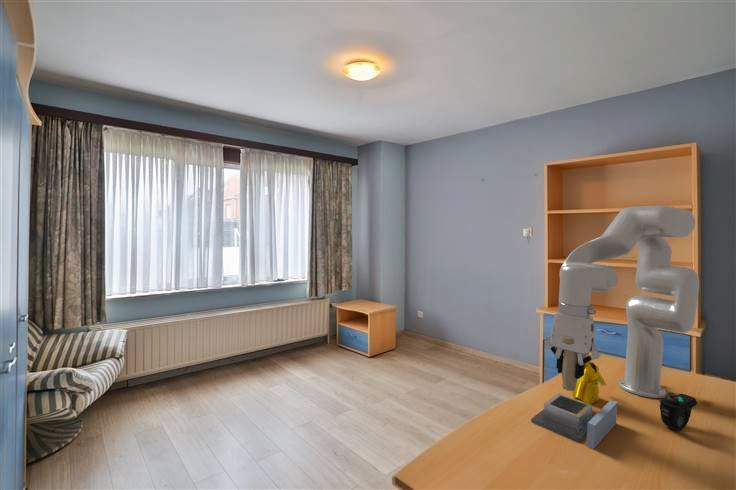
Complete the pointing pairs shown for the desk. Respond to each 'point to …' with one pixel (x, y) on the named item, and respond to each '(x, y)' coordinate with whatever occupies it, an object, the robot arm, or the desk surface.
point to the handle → (569, 366)
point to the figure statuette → (589, 384)
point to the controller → (676, 410)
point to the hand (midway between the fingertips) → (569, 373)
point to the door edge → (601, 424)
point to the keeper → (565, 417)
